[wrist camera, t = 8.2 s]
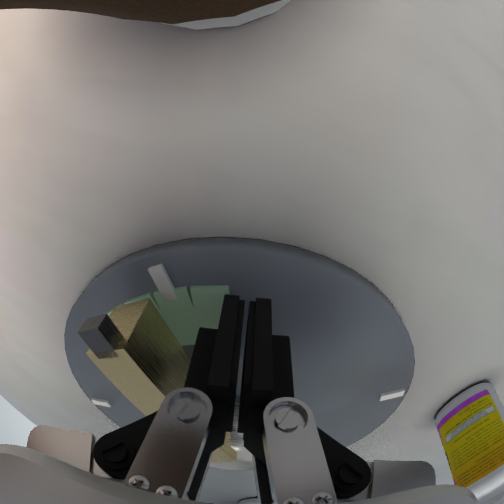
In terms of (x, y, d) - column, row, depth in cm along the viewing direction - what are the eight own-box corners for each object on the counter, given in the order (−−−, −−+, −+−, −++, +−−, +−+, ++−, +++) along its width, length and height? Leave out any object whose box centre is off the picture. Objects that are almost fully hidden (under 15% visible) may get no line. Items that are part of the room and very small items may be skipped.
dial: (373, 441, 20) (376, 453, 19) (149, 448, 22) (146, 459, 21) (441, 213, 10) (458, 225, 9) (21, 262, 12) (7, 275, 11)
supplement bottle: (420, 421, 19) (450, 535, 8) (473, 376, 16) (522, 498, 5) (454, 421, 20) (482, 515, 9) (499, 381, 17) (540, 479, 6)
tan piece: (278, 427, 16) (278, 476, 12) (215, 433, 16) (209, 478, 13) (176, 253, 10) (140, 319, 7) (92, 282, 11) (49, 337, 8)
